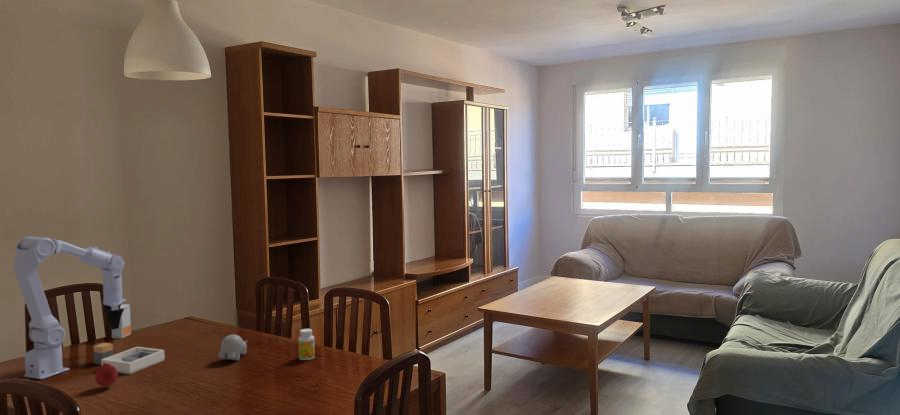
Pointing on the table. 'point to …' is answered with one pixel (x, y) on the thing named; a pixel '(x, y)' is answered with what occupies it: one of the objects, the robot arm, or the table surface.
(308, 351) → the supplement bottle
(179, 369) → the table surface
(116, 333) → the skincare box
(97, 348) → the block
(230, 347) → the chubby cartoon animal
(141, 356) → the walled box
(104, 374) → the onion
